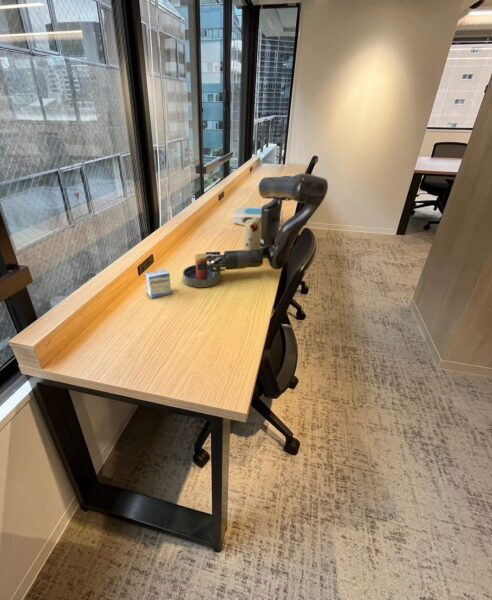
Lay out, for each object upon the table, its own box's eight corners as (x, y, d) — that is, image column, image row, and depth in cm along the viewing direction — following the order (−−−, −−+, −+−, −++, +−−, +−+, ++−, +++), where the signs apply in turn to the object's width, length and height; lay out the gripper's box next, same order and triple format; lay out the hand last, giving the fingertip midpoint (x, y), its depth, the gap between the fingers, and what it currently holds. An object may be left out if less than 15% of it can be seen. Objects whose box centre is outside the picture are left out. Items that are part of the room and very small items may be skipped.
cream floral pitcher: (254, 267, 144) (257, 222, 134) (240, 264, 146) (241, 220, 136) (261, 258, 151) (263, 215, 141) (247, 256, 154) (249, 214, 143)
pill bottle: (195, 276, 134) (194, 253, 129) (206, 275, 135) (206, 253, 130) (196, 281, 130) (195, 258, 125) (208, 280, 131) (207, 257, 126)
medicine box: (151, 299, 120) (148, 277, 115) (147, 293, 123) (144, 272, 119) (171, 294, 123) (169, 273, 118) (167, 289, 126) (165, 268, 122)
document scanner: (280, 228, 190) (281, 217, 187) (232, 225, 195) (233, 214, 192) (282, 217, 208) (283, 207, 205) (239, 215, 213) (239, 205, 210)
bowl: (182, 273, 138) (181, 265, 137) (217, 270, 141) (217, 263, 139) (184, 289, 126) (184, 281, 124) (223, 286, 128) (223, 278, 126)
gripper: (233, 244, 136) (194, 247, 133) (240, 258, 124) (197, 261, 121) (233, 261, 139) (195, 264, 137) (240, 275, 127) (198, 279, 125)
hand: (196, 262), depth 129 cm, fingers open, 8 cm apart
